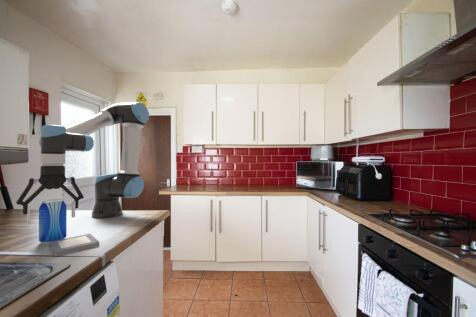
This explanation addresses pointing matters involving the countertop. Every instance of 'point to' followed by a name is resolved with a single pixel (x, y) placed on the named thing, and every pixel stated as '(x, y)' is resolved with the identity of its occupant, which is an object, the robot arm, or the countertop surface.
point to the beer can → (52, 221)
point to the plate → (73, 244)
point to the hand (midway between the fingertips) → (52, 219)
